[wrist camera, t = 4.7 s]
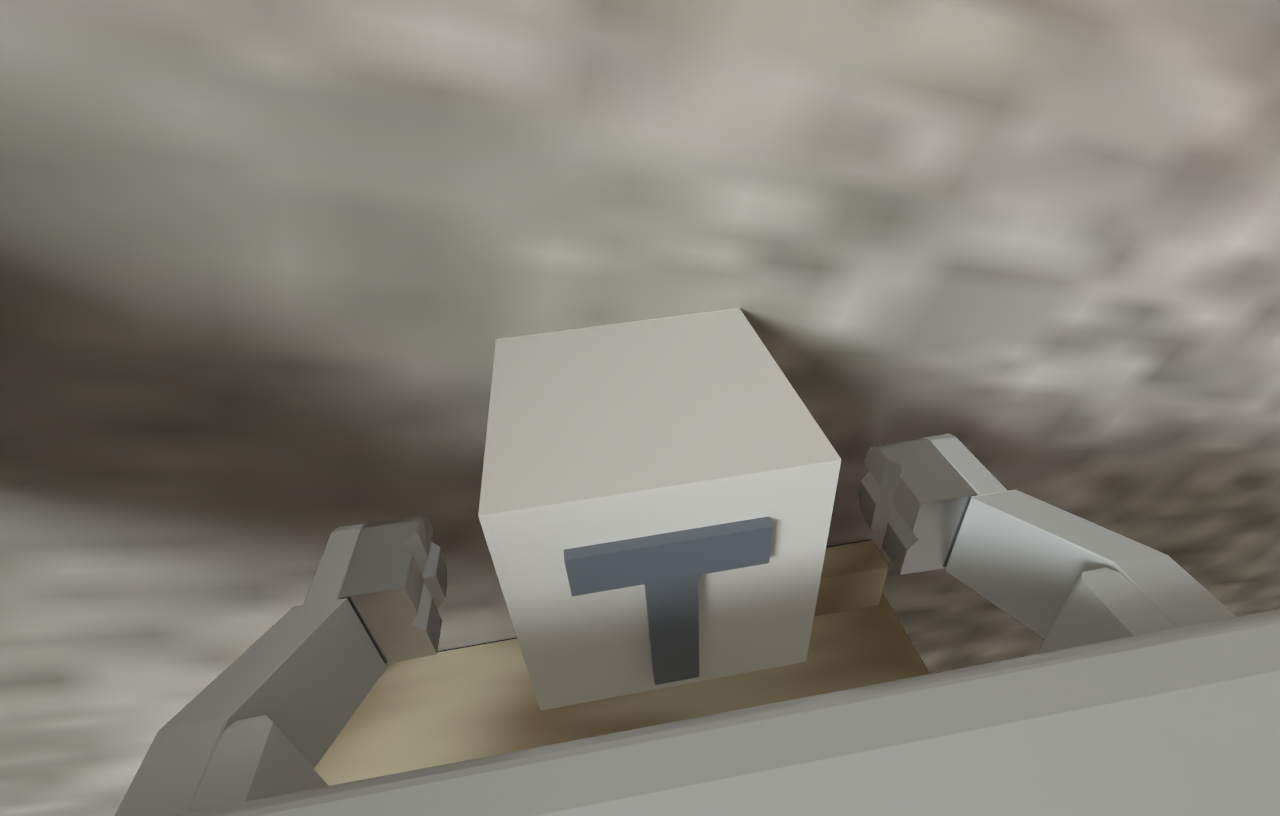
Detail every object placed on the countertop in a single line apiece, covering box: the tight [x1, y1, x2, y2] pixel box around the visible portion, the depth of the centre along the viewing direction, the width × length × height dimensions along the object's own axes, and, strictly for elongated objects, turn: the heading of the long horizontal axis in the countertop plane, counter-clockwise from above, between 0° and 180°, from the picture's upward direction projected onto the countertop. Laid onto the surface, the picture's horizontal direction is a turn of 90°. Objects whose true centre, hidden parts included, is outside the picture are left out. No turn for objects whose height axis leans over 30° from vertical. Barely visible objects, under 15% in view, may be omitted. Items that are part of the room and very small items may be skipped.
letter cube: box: [478, 308, 841, 710], centre depth 11 cm, size 5×5×5 cm
